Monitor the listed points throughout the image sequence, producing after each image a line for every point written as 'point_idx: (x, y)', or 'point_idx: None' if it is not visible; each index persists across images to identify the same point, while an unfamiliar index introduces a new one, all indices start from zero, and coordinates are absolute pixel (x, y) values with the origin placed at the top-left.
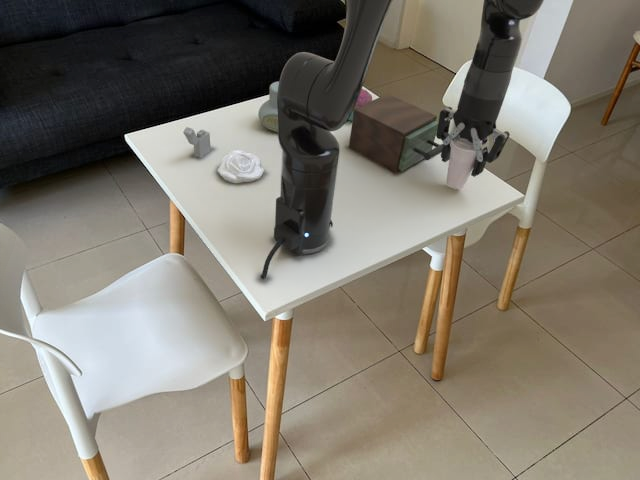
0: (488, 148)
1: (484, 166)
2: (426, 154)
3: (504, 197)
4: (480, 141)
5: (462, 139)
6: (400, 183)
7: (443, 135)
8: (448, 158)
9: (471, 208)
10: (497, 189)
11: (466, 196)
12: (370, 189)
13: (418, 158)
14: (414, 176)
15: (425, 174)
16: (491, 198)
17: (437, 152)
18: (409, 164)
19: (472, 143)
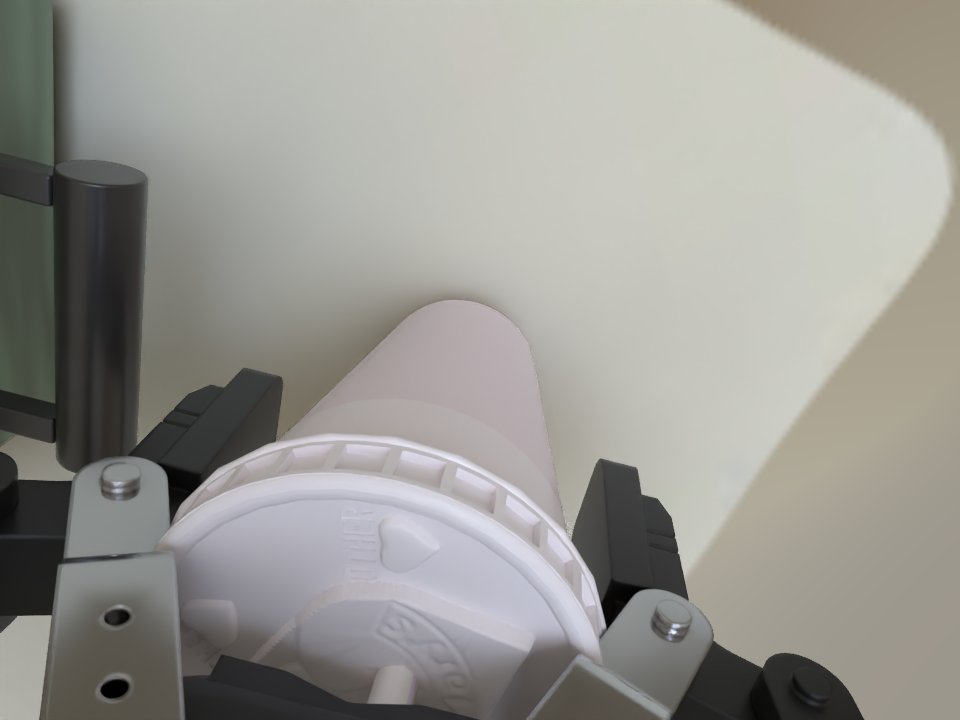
0: (679, 702)
1: (677, 559)
2: (73, 465)
3: (885, 226)
4: (505, 557)
5: (262, 660)
6: None
7: (5, 611)
8: (271, 416)
9: (660, 498)
10: (807, 137)
11: (586, 386)
12: None
13: (31, 223)
14: (156, 356)
15: (201, 283)
16: (777, 304)
17: (124, 351)
18: (39, 339)
19: (427, 700)
